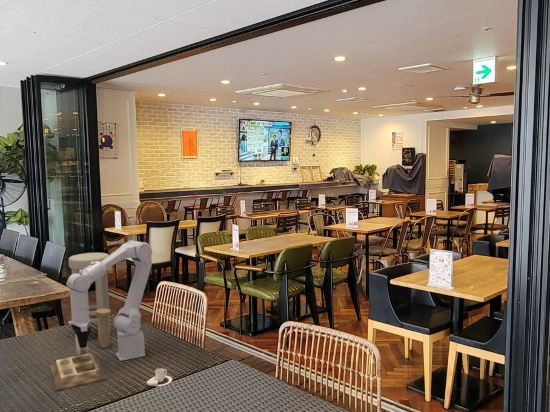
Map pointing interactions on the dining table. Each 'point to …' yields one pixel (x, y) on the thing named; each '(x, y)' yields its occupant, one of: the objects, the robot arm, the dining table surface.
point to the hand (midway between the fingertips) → (82, 345)
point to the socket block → (76, 371)
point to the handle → (104, 327)
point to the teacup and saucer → (159, 378)
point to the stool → (102, 297)
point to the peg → (80, 350)
